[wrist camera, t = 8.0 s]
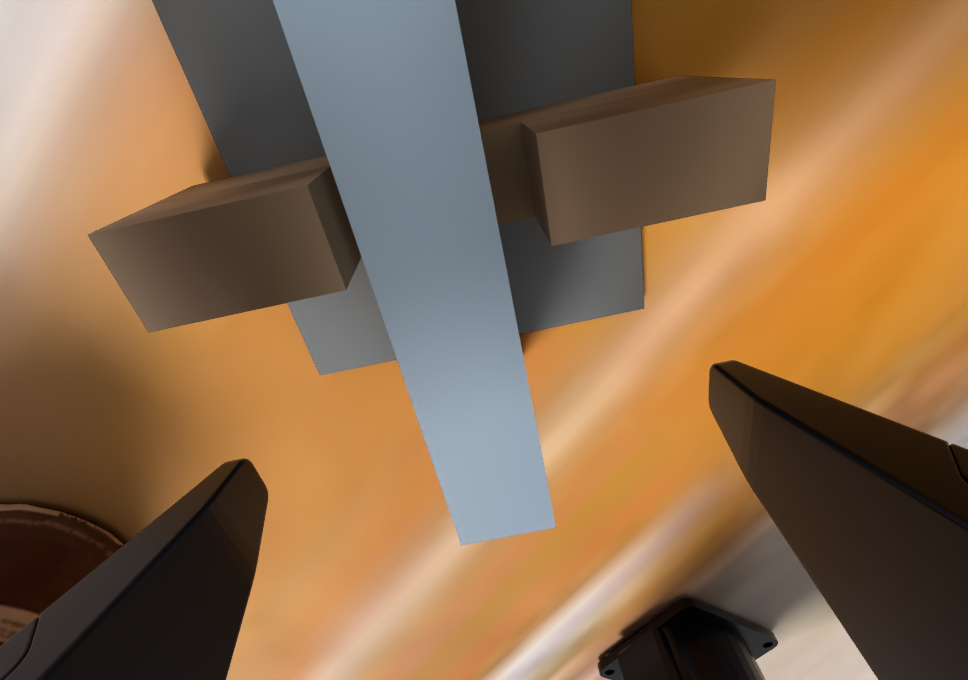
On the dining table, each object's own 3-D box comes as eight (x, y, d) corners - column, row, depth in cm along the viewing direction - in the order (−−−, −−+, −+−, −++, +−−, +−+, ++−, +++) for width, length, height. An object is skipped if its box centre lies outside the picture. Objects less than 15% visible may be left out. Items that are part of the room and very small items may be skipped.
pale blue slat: (317, -115, 9) (155, -339, 4) (418, -142, 9) (378, -400, 4) (457, 382, 15) (461, 545, 10) (519, 369, 15) (555, 527, 10)
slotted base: (668, -145, 10) (805, -279, 6) (672, 296, 15) (750, 376, 11) (109, -6, 10) (-89, -48, 7) (291, 375, 15) (239, 477, 12)
